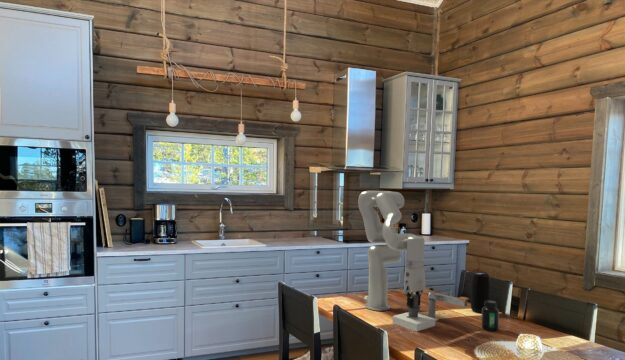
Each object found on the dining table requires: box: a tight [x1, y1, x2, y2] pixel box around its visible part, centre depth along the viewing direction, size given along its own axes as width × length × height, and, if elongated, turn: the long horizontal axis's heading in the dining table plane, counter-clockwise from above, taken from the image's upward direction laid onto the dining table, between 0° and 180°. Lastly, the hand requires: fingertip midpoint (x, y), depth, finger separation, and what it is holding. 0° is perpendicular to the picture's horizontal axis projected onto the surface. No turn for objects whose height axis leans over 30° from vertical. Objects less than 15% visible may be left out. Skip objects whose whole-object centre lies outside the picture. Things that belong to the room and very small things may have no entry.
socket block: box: [392, 298, 439, 332], centre depth 184 cm, size 13×22×10 cm, turn 128°
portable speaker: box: [469, 270, 491, 314], centre depth 207 cm, size 9×9×20 cm
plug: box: [406, 293, 421, 317], centre depth 182 cm, size 6×6×9 cm
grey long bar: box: [427, 291, 470, 307], centre depth 184 cm, size 4×18×3 cm, turn 44°
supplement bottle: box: [481, 299, 500, 332], centre depth 181 cm, size 7×7×12 cm
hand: (413, 305), depth 182 cm, fingers closed on plug, 4 cm apart
